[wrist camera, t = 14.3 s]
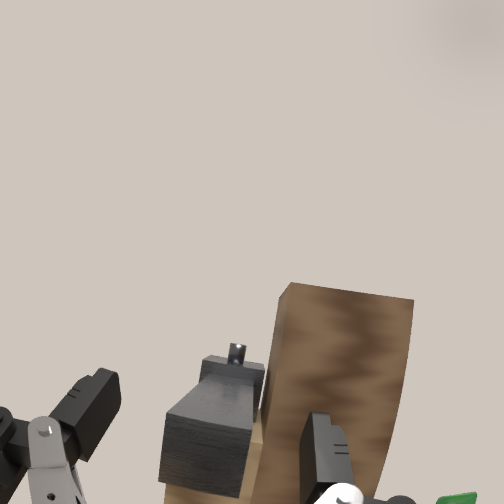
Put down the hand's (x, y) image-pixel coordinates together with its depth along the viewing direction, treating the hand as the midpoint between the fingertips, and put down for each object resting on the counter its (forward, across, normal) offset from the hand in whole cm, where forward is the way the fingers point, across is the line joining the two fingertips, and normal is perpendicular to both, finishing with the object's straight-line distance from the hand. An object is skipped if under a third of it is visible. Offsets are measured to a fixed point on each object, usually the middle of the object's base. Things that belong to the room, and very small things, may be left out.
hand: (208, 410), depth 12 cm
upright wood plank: (-1, -5, +28) cm, 28 cm away
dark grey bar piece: (+6, 0, +8) cm, 10 cm away
